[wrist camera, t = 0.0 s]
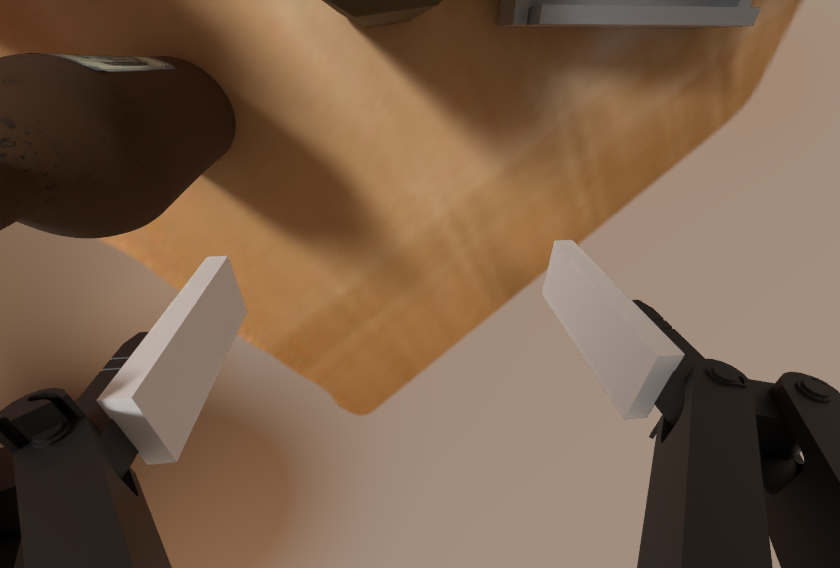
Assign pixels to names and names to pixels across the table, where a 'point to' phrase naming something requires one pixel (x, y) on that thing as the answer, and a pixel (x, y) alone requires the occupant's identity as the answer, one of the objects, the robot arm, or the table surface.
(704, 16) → the grey tray
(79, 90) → the olive oil
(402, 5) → the bottle
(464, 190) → the table surface
